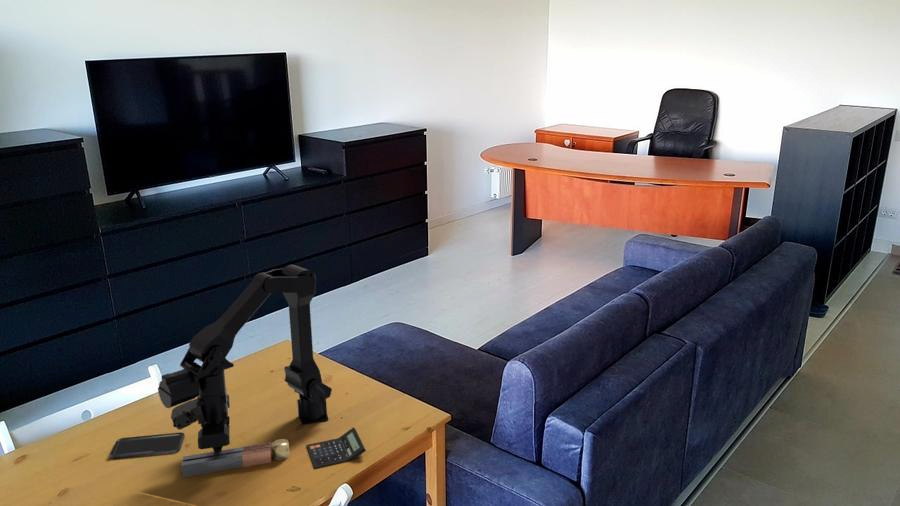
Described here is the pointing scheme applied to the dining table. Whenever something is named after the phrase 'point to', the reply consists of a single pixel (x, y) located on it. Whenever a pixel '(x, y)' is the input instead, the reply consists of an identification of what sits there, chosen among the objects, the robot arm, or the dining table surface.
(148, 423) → the dining table surface
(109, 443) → the dining table surface
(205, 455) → the arm
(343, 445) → the calculator
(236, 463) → the bar
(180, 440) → the phone
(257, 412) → the dining table surface
